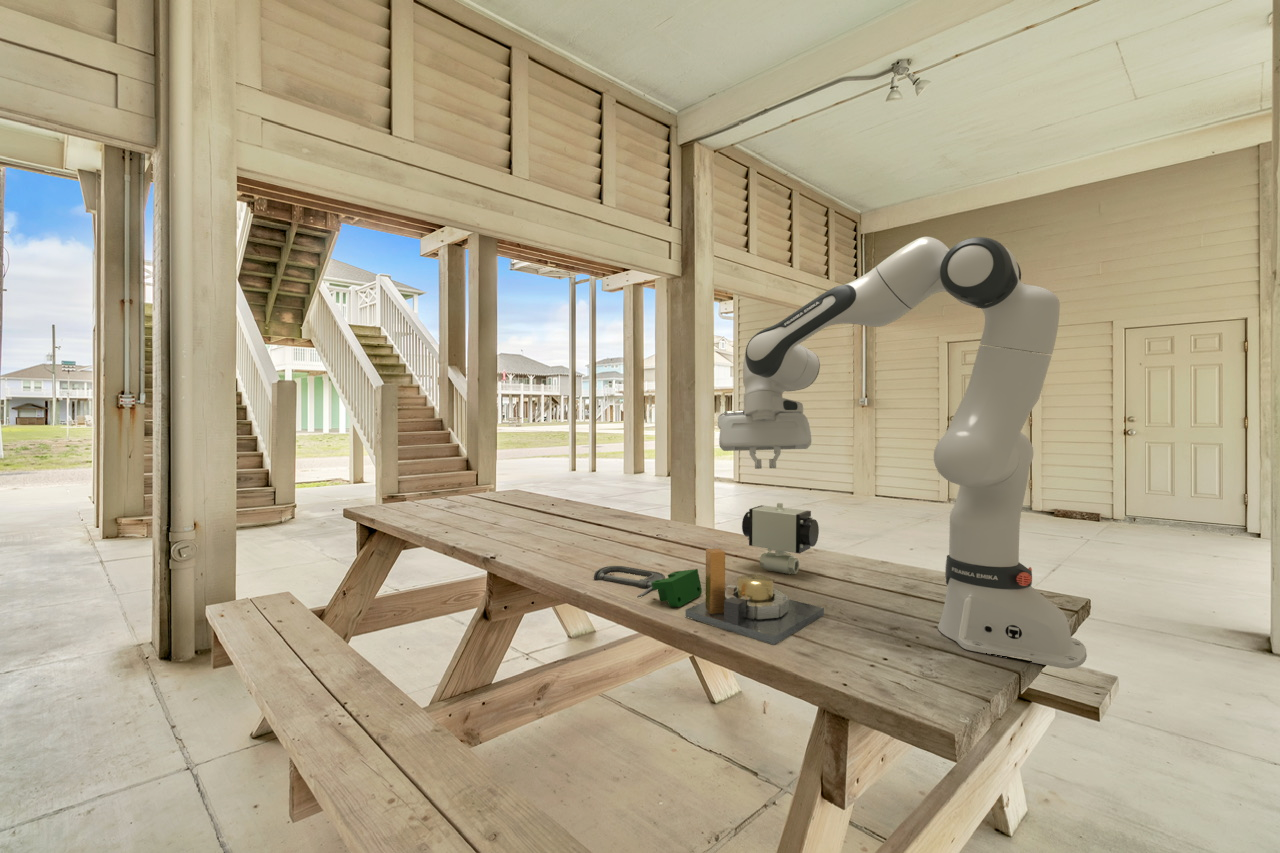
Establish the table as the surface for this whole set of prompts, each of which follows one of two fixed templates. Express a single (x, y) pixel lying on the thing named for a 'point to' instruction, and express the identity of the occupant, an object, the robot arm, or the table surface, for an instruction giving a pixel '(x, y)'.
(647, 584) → the c clamp
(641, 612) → the table surface
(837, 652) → the table surface
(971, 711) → the table surface
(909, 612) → the table surface
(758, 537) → the ball valve
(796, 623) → the base plate
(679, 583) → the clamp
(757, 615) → the ring of rectangular blocks
